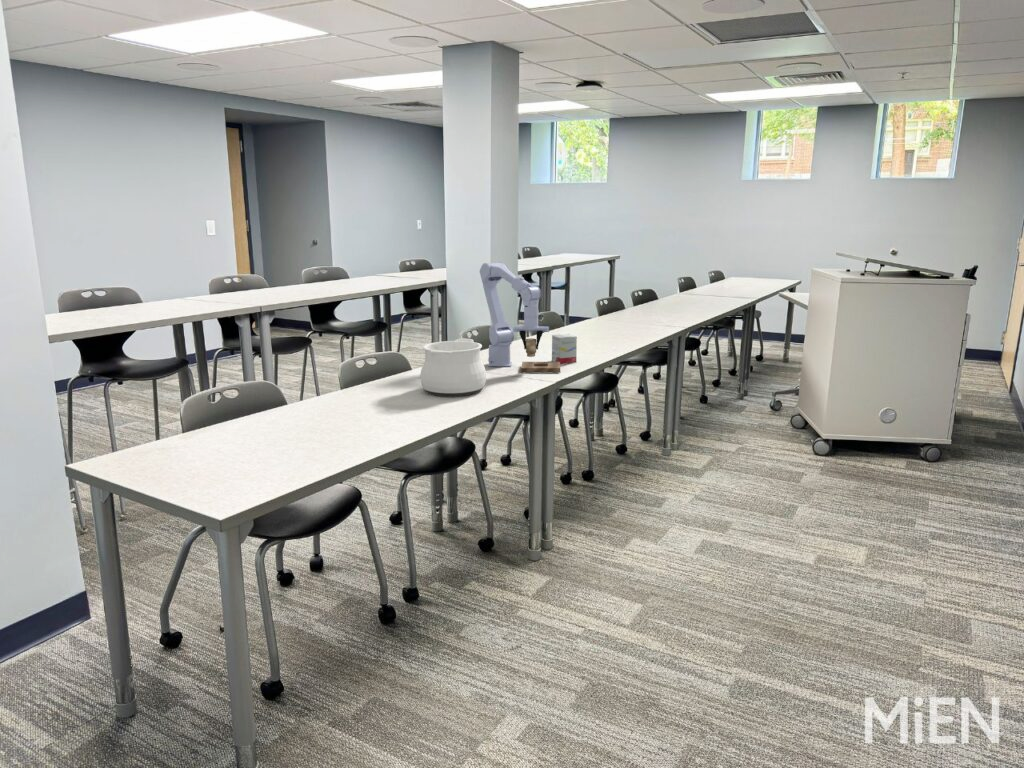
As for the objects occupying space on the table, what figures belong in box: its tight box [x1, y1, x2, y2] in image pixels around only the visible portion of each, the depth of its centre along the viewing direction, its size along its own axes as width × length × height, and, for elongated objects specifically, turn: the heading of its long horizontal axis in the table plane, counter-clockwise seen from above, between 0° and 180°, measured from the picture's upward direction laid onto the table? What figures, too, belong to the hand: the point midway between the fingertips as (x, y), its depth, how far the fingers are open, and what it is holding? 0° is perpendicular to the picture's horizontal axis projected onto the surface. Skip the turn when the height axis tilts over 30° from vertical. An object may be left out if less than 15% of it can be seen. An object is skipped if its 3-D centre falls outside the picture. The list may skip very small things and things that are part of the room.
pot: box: [419, 338, 487, 398], centre depth 265 cm, size 28×24×17 cm
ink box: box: [551, 333, 578, 365], centre depth 316 cm, size 9×9×12 cm
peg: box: [525, 337, 537, 358], centre depth 295 cm, size 4×4×7 cm
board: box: [520, 361, 561, 373], centre depth 301 cm, size 16×13×2 cm
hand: (531, 349), depth 295 cm, fingers closed on peg, 4 cm apart
